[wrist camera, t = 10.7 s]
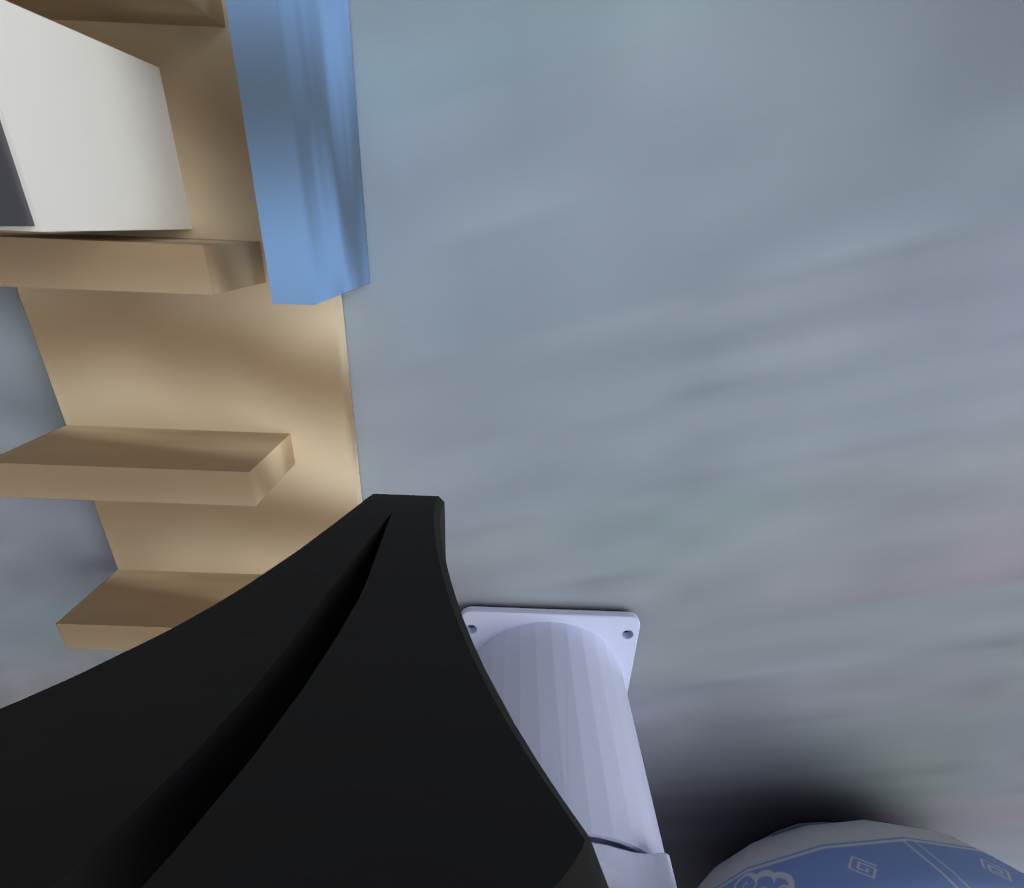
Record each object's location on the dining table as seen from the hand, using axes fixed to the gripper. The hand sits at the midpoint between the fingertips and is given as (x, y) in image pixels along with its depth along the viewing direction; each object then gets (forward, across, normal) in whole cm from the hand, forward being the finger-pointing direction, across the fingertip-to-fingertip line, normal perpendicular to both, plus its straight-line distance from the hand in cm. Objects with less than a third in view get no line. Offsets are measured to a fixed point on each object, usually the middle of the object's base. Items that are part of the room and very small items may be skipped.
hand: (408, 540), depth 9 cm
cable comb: (+9, +8, -1) cm, 13 cm away
